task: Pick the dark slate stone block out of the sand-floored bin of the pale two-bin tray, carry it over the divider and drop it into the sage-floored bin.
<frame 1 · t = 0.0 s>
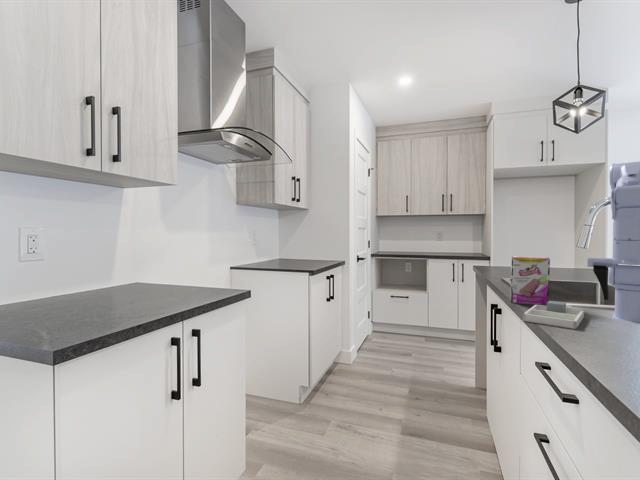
hand: (628, 301, 76), 10 cm above the countertop, fingers open, 7 cm apart
slate block: (556, 316, 100), point 1 cm above the countertop, touching two-bin tray
candy bar box: (529, 305, 117), on the countertop
two-bin tray: (553, 320, 97), on the countertop
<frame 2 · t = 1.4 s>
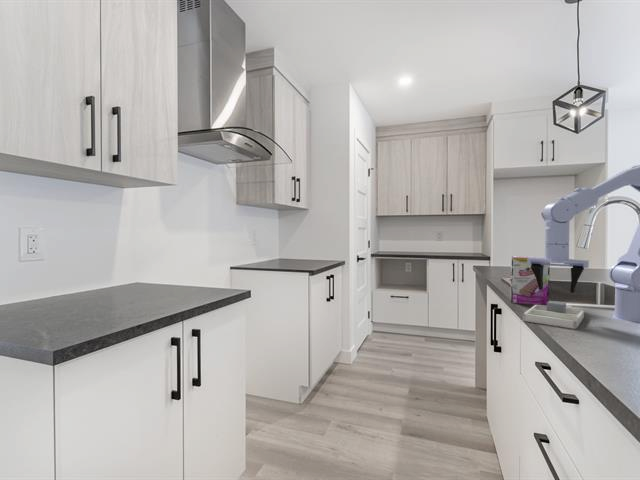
hand: (556, 290, 100), 8 cm above the countertop, fingers open, 7 cm apart
nothing on the countertop moved.
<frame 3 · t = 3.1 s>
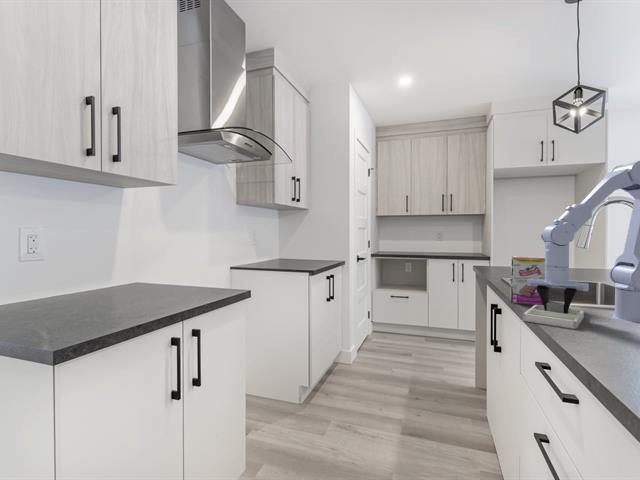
hand: (556, 312, 100), 2 cm above the countertop, fingers closed on slate block, 4 cm apart
slate block: (556, 316, 100), point 1 cm above the countertop, touching gripper, two-bin tray
everything else where it was.
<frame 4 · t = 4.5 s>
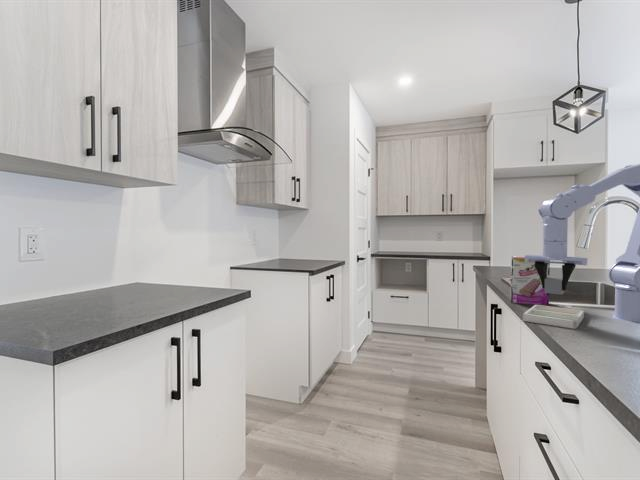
hand: (554, 288, 98), 9 cm above the countertop, fingers closed on slate block, 4 cm apart
slate block: (554, 292, 98), point 8 cm above the countertop, touching gripper
everything else where it was.
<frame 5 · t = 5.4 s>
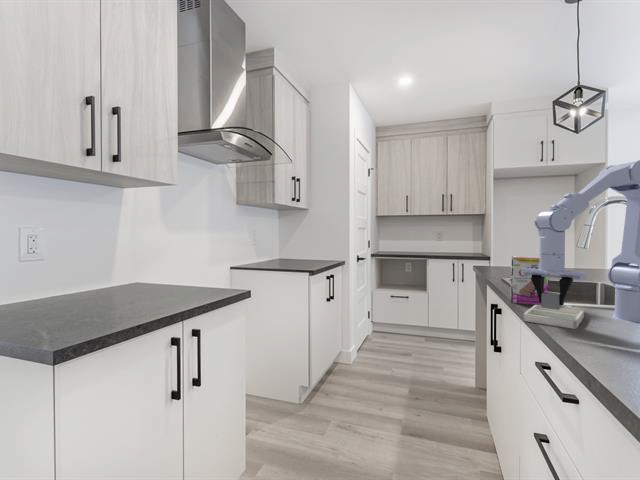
hand: (551, 303, 94), 6 cm above the countertop, fingers closed on slate block, 4 cm apart
slate block: (551, 307, 95), point 4 cm above the countertop, touching gripper
everything else where it was.
when the fingers open (3 cm above the countertop, at t = 6.2 s): slate block drops 2 cm, resting on two-bin tray.
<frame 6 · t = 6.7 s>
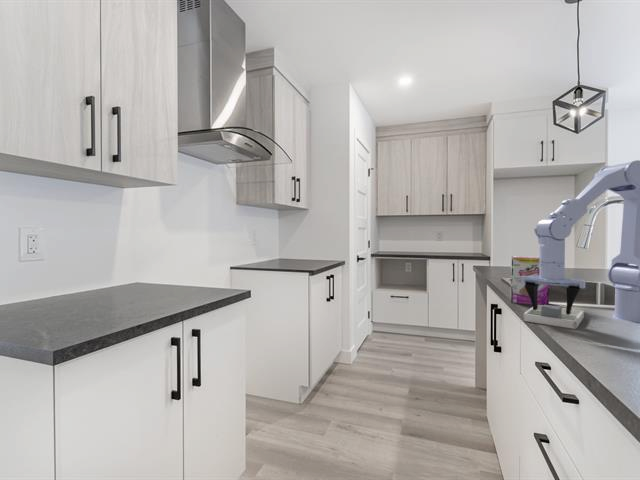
hand: (551, 311, 94), 3 cm above the countertop, fingers open, 7 cm apart
slate block: (551, 321, 95), point 1 cm above the countertop, touching two-bin tray
everything else where it was.
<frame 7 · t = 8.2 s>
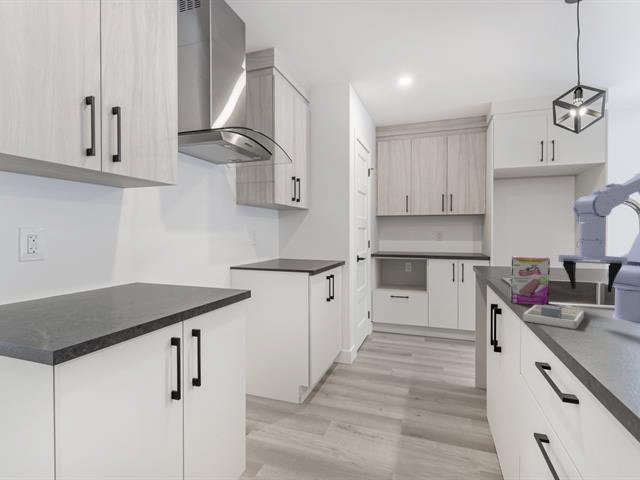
hand: (591, 289, 93), 9 cm above the countertop, fingers open, 7 cm apart
nothing on the countertop moved.
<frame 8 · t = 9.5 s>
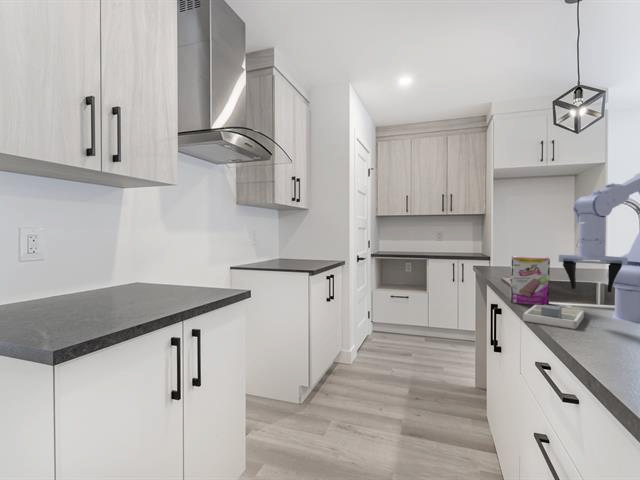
hand: (591, 289, 93), 9 cm above the countertop, fingers open, 7 cm apart
nothing on the countertop moved.
at the end: slate block inside the target area on the two-bin tray (0.2 cm from its centre), point 0.6 cm above the two-bin tray's base; the gripper is holding nothing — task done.
